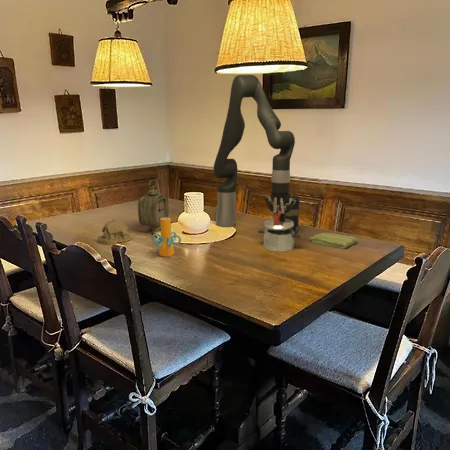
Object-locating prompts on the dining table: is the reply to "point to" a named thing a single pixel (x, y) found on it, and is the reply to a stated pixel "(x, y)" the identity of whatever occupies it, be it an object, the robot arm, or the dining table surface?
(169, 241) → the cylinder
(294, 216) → the canister
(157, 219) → the tabletop clock
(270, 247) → the pot
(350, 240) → the washcloth
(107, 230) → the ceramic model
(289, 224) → the lid
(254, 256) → the dining table surface
